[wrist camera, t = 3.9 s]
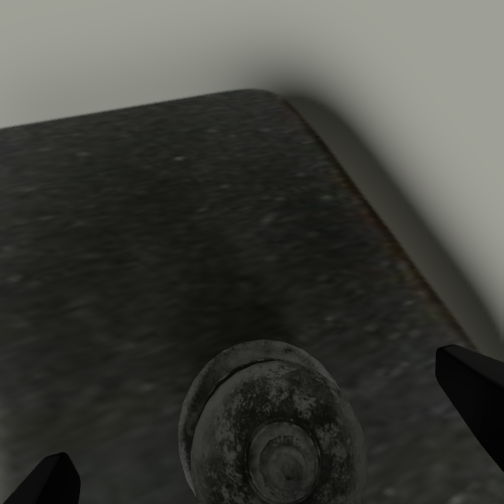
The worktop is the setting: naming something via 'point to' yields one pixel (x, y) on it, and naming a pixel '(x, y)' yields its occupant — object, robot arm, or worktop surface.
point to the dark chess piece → (270, 430)
